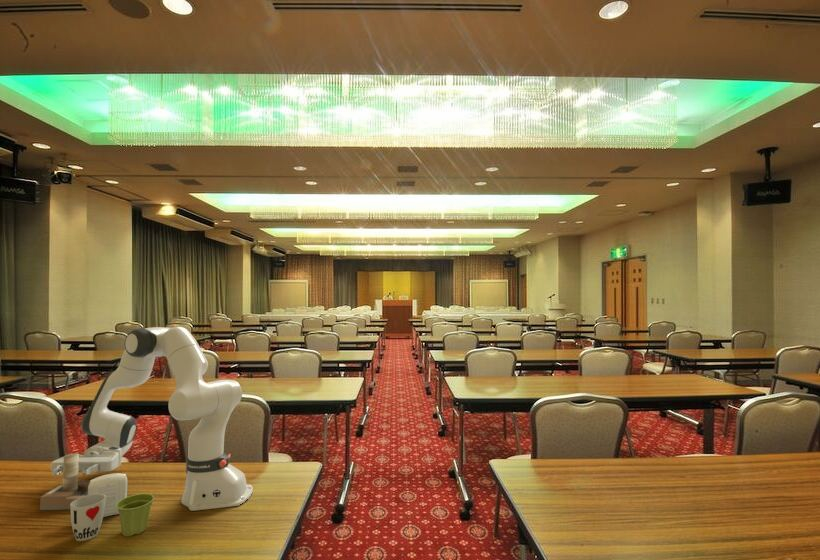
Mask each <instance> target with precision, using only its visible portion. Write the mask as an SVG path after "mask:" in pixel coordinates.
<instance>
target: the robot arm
mask: <svg viewBox="0 0 820 560" xmlns="http://www.w3.org/2000/svg"><path fill="white" fill-rule="evenodd" d="M162 357H165V359H167V363H168V364H169V366H170V368H171V370H172V373H173V376H174V377H175V382H176V383H175V385H176V386H175V390H174V391H173V392H172V394H171V395H170V397H169V400H168V412H169V414H170V416H172V418H173V419H175V420H176V421H190V420H196V419H199V418H200V421H199V422H198V423H197V425H196V426H195V427H194V428H193V429H192V430H191V431H190V433H189V435H188V443H187V444H188V446H187V447H188V448H187V450H188V451H187V452H188V453H187V455H188V456H187V457H186V464H185V473H186V480H185V485H184V491H183V495H182V498H181V500H180V501H181V504H182V505H183V506H185V507H186V508H188V509H189V511H192V512H193V511H201V510H202V511H203V510H211V509H213V510H214V509H221V508H231V507H238V506H240V504H241V505H242V503H243V504H244V503H246V502H247V501H248V500H249V499H250V498H251V497H252V495H251V494H253V493H252V492H254V488H253V486H252V484H248V483H247V479H246V475H245V473H244V472H243V471H241V470H240V469H238V468H237V467H235V466H234V465H232V463H230V459H231V453H229V454H228V455H227V453H226V452H224V448H225V447H224V446H225V434H226V433H225V432H226V427H227V425H228V422H229V419H230V417H231V414H232V413H233V411H234V409H235V408H236V407H237V406H238V404H240V402H241V400H242V399H243V389H242V386H241V385H240V383H239V381H237V380H234V379H218V380H214V381H208V382H206V381H205V380H204V379H203V376H204V375H205V373H206V372H207V370H208V368H209V362H208V359H207V358H206V356H205V354H204V352H203V350H202V348H201V347H200V345H199V343H198V341H197V340H196V339H195V337H194V336H193V335H192V334H191V332H190V331H189V330H188V329H187V328H185V327H184V326H174V327H166V326H165V327H163V326H162V327H161V326H153V327H147V328H145V327H139V328H134V329H132V330H131V331H129V332H128V333H127V335H126V336H125V339H124V351H123V353H122V355H121V358H120V362H119V365H118V367H117V368H116V370H112V371H110V372H109V373H108V374H107V375H106V376H105V378H104V379H103V381H102V383H101V384H100V387H99V388H98V390H97V393H96V394H95V397H94V398H93V400H92V403H91V405H90V406H89V408H88V410H87V411H86V413H85V414H84V416H83V418H82V420H80V421H81V422H80V427H81V431H82V432H83V433H84V434H85V435H90V436H96V437H100V438H104V439H103V441H101V442H97V443H96V444H94V445H92V446H90V447H89V448H87V449H85V451H84V452H83V453H82V454H79V466H78V473H82V475H83V476H85V475H86V476H87V475H90V474H92V473H97V472H98V473H99V472H111V471H113V470H115V469H116V468H118V467H120V466H121V465H122V460H123V459H122V458H123V456H124V455H125V454H126V453H127V452H128V451H129V450H130V449H131V447H132V445H133V440H134V438H135V436H136V433H137V430H138V424H137V421H136V419H135V417H134V416H131V415H127V414H124V413H119V412H115V411H113V410H110V409H109V408H108V405H109V402H110V401H111V398H112V396H113V394H114V392H115V390H119V389H130V388H135V387H139V386H141V385H142V384H144V383H146V382H147V381H148V380H149V378H150V377H151V374H152V371H153V368H154V364H155V361H156V358H162ZM63 464H64V456H61V457H60V458H57V459H55V460H53V461H51V464H50V471H51V473H52V476H60V475H61V474H62V473H63ZM249 497H250V498H249ZM247 499H248V500H247ZM246 500H247V501H246ZM245 501H246V502H245Z"/></svg>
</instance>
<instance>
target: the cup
mask: <svg viewBox="0 0 820 560" xmlns="http://www.w3.org/2000/svg"><path fill="white" fill-rule="evenodd" d="M105 499H106V496H105V495H103V494H93V495H88V496H84V497H81V498H78V499H76V500H74V501H73V502H72V503H71V504H70V509H69V510H70V522H71V523H70V524H71V527H72V533H73V536H74V537H75V540H76V541H77V542H84V541H88V540H91V539H94V538H95V537H97V536H98V534H99V531H100V528H101V527H102V524H103V520H104V519H103V518H104V517H103V515H104V508H105Z"/></svg>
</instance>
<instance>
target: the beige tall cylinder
mask: <svg viewBox="0 0 820 560" xmlns="http://www.w3.org/2000/svg"><path fill="white" fill-rule="evenodd" d="M79 455H80V454H79V453H77V452H74V453H73V452H72V453H69V454H65V455H64V456H63V457H64V464H63V472H62V484H63V490H62V492H68V491H74V494H73V495H72V496H81V490H78V480H79V472H78V466H79Z"/></svg>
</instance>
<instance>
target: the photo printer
mask: <svg viewBox="0 0 820 560" xmlns="http://www.w3.org/2000/svg"><path fill="white" fill-rule="evenodd" d="M89 480H90V484H89V486H88V495H93V494H103V495H105V496H106V499H105V508H104V515H103V518H105V517H110V516H113V515H114V516H115V515H120V514H119V512H118V509H117V507H116V504H117V503H118V502H119V501H120V500H122V499H124V498H126V497H128V477H127V474H126V473H121V472H120V473H119V472H117V473H108V474H104V475H100V476H97V477H95V478H92V479H89Z"/></svg>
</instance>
